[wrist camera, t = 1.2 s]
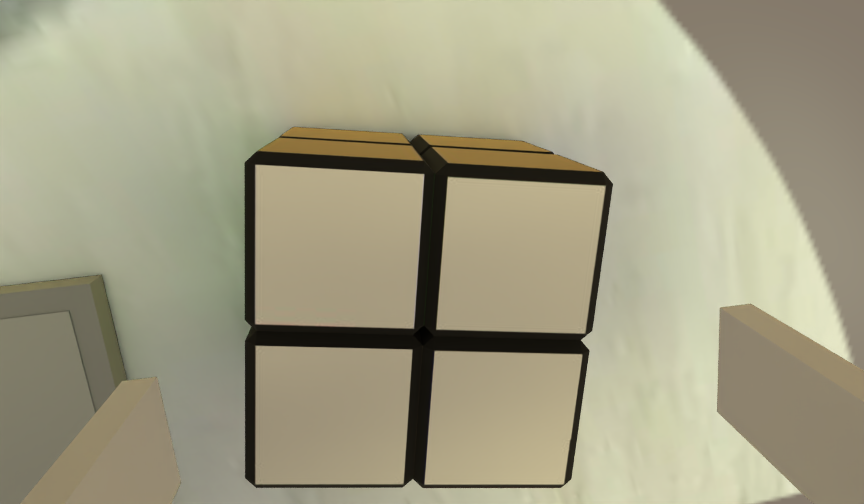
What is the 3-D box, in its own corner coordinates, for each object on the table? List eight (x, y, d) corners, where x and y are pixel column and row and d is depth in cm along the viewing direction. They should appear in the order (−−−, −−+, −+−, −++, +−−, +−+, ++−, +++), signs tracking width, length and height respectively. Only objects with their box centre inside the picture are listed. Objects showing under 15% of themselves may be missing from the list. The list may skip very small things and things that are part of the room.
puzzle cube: (505, 359, 30) (574, 494, 20) (283, 355, 28) (243, 495, 19) (528, 140, 27) (619, 172, 17) (286, 125, 26) (240, 151, 16)
